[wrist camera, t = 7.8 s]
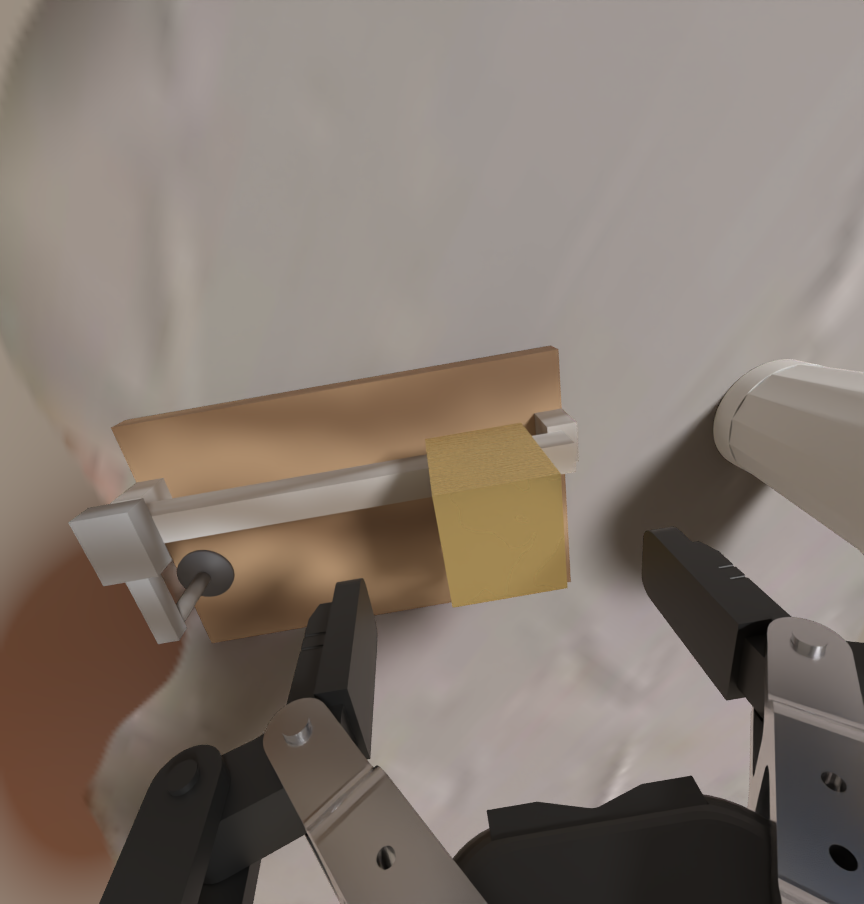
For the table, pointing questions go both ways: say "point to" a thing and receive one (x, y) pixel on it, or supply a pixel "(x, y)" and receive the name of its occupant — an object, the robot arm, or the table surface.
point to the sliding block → (497, 514)
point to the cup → (801, 438)
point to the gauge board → (307, 493)
